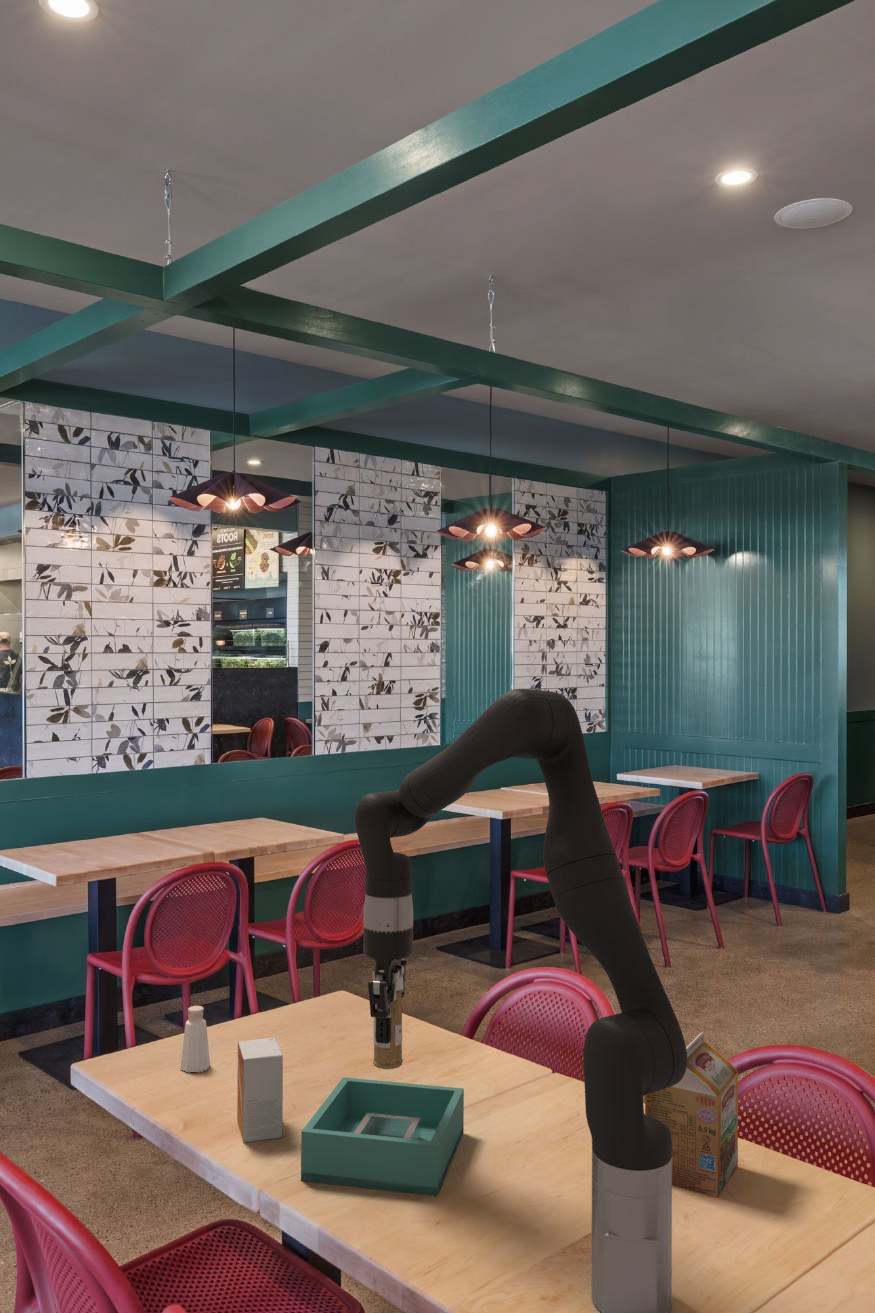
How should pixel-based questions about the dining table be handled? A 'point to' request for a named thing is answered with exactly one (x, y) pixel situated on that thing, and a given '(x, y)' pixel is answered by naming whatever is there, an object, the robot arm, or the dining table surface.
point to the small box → (260, 1089)
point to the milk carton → (701, 1120)
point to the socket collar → (390, 1126)
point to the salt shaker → (195, 1042)
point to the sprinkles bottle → (391, 1052)
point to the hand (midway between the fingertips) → (387, 1036)
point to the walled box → (383, 1137)
